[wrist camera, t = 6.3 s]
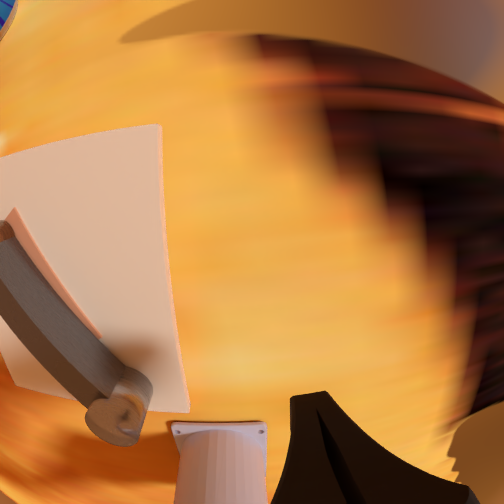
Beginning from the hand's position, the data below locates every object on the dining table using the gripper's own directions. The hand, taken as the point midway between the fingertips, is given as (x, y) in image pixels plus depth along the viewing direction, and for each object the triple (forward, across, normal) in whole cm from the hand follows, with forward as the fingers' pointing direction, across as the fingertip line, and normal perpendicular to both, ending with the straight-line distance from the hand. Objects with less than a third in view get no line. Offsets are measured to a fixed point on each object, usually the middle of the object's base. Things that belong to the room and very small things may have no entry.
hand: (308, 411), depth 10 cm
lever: (+8, +15, -1) cm, 17 cm away
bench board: (+9, +16, -2) cm, 18 cm away
